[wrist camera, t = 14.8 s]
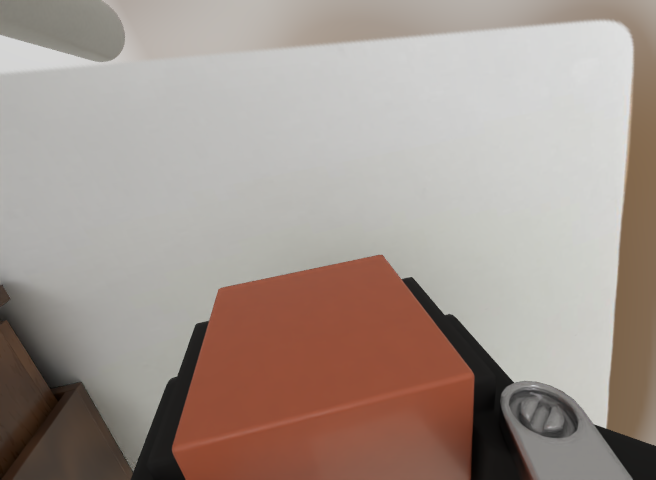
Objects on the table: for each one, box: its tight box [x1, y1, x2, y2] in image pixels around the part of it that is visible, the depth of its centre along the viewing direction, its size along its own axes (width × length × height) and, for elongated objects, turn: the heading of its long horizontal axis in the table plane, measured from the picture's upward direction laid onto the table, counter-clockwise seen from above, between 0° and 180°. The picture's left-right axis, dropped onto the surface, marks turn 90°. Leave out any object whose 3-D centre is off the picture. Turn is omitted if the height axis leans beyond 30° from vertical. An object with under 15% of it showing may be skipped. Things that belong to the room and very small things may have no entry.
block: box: [172, 255, 474, 480], centre depth 8 cm, size 5×5×5 cm
